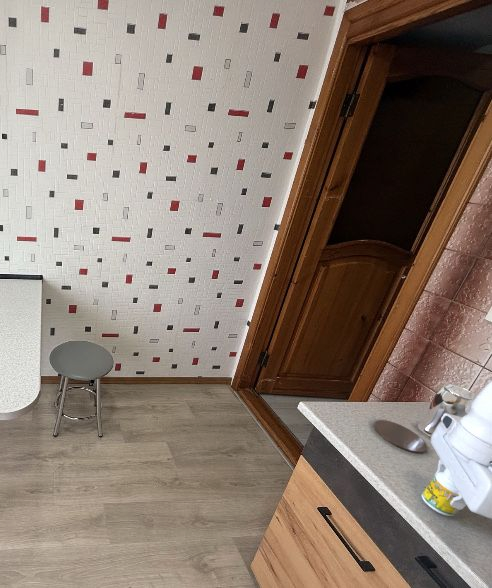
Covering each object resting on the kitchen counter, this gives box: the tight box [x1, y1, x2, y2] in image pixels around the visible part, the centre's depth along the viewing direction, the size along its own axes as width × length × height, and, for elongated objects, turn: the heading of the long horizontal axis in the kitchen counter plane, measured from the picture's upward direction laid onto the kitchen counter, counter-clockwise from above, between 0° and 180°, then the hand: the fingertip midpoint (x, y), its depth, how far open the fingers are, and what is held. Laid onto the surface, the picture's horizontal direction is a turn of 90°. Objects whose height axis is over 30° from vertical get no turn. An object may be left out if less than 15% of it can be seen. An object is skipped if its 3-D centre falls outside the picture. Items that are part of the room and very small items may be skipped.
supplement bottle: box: [421, 468, 460, 517], centre depth 71 cm, size 5×5×10 cm
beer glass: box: [417, 382, 477, 438], centre depth 92 cm, size 7×7×15 cm
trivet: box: [373, 419, 427, 454], centre depth 92 cm, size 11×11×1 cm
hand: (446, 491), depth 71 cm, fingers closed on supplement bottle, 5 cm apart
